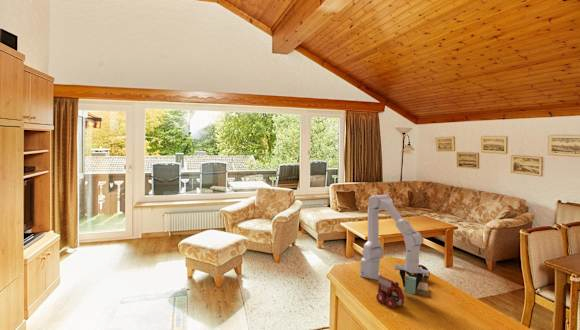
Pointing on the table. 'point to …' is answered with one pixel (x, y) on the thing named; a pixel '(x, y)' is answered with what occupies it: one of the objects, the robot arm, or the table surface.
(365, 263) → the robot arm
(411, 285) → the teal block
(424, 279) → the dark headphones
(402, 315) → the table surface
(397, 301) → the toy fire truck
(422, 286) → the pale grey flat block
